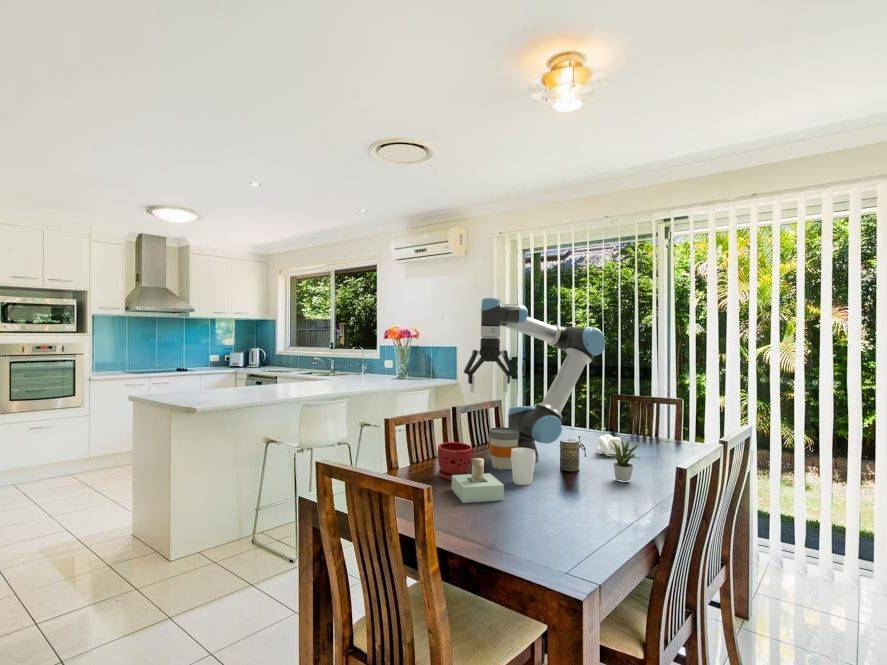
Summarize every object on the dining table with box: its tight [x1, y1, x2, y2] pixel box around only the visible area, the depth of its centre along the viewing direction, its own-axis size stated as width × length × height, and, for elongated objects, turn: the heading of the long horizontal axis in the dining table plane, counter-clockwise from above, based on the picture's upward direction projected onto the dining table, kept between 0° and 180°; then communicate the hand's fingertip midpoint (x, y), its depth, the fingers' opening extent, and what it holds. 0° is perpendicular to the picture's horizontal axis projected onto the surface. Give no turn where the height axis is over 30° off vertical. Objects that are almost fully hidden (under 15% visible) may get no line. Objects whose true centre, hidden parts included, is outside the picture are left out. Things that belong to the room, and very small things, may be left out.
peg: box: [471, 457, 485, 483], centre depth 174 cm, size 4×4×12 cm
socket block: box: [451, 472, 505, 504], centre depth 175 cm, size 14×14×5 cm
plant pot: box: [437, 441, 473, 481], centre depth 194 cm, size 13×13×12 cm
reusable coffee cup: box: [488, 426, 519, 470], centre depth 211 cm, size 13×13×15 cm
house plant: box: [606, 438, 642, 481], centre depth 194 cm, size 14×14×16 cm
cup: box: [511, 448, 536, 486], centre depth 190 cm, size 9×9×12 cm
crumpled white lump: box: [595, 433, 622, 457], centre depth 236 cm, size 11×12×9 cm
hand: (488, 392), depth 201 cm, fingers open, 13 cm apart
